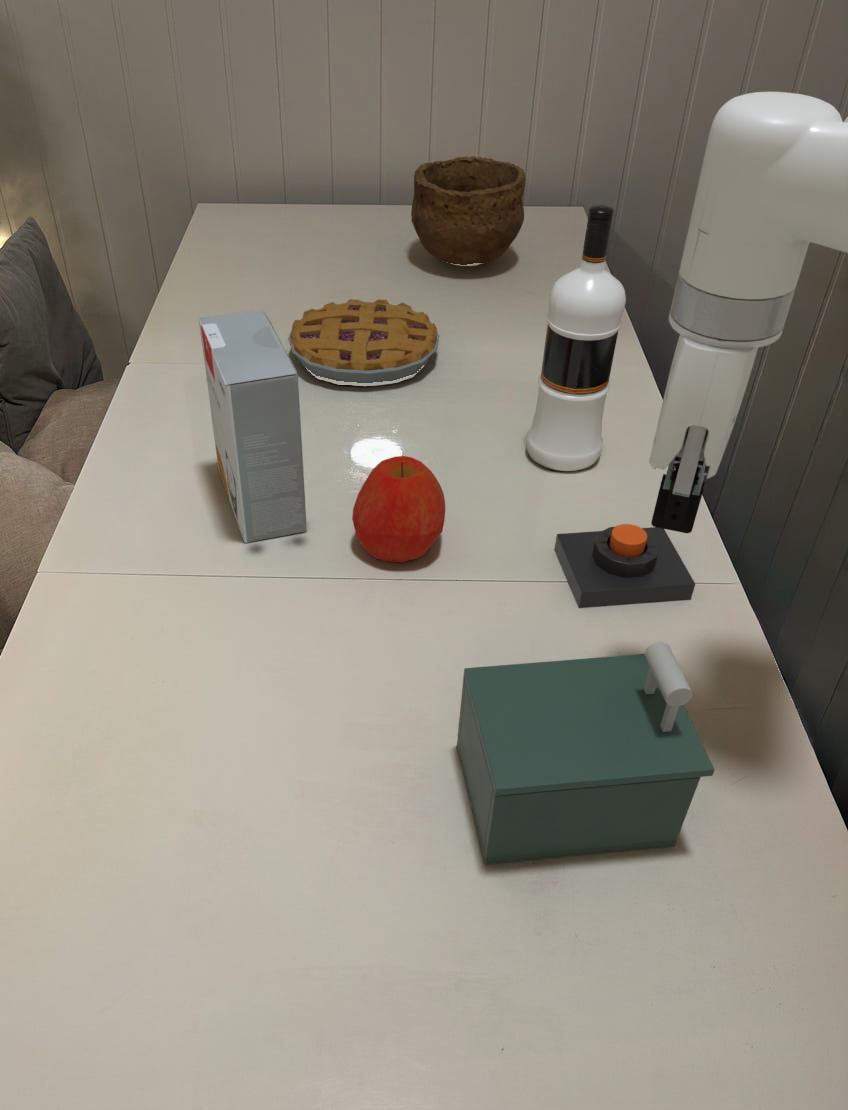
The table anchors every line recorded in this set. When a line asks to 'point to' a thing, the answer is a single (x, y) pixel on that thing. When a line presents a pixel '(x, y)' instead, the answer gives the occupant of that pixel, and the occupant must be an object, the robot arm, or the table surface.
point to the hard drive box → (255, 423)
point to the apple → (399, 510)
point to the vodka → (578, 356)
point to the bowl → (468, 208)
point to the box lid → (586, 722)
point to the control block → (622, 570)
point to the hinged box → (567, 810)
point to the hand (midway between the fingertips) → (671, 524)
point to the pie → (363, 341)
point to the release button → (628, 540)
